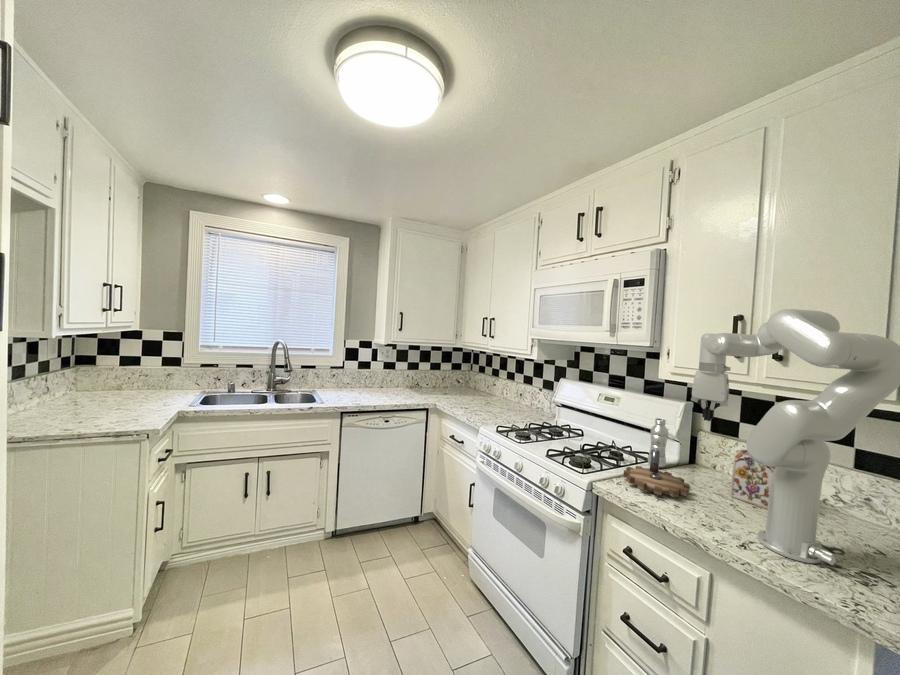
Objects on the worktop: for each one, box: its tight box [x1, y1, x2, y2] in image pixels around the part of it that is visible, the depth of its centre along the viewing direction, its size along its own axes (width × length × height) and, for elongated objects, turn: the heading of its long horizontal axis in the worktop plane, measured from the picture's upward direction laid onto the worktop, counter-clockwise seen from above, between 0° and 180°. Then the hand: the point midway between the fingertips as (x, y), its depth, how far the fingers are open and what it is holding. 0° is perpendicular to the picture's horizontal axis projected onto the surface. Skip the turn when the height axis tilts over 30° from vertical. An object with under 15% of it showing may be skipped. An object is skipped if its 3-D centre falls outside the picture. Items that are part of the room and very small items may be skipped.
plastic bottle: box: [647, 417, 669, 468], centre depth 149 cm, size 6×7×20 cm
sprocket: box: [623, 449, 691, 498], centre depth 128 cm, size 21×21×10 cm
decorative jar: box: [729, 449, 776, 511], centre depth 123 cm, size 12×12×18 cm
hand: (707, 420), depth 125 cm, fingers closed
